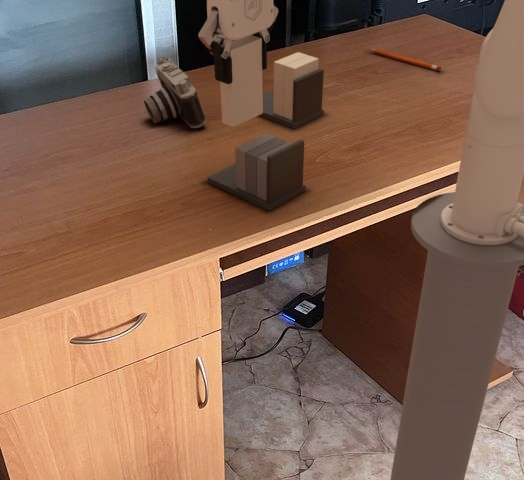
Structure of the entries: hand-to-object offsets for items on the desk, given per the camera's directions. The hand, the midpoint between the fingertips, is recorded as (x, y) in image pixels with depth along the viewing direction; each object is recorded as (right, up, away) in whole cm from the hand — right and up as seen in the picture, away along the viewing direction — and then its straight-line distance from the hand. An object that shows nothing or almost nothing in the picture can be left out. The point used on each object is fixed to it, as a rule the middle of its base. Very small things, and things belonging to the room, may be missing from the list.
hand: (241, 73), depth 122 cm
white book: (0, -6, +5) cm, 7 cm away
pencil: (+35, +22, +55) cm, 68 cm away
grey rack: (+2, -15, +10) cm, 19 cm away
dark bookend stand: (+7, +4, +33) cm, 34 cm away
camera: (-15, +2, +31) cm, 34 cm away
